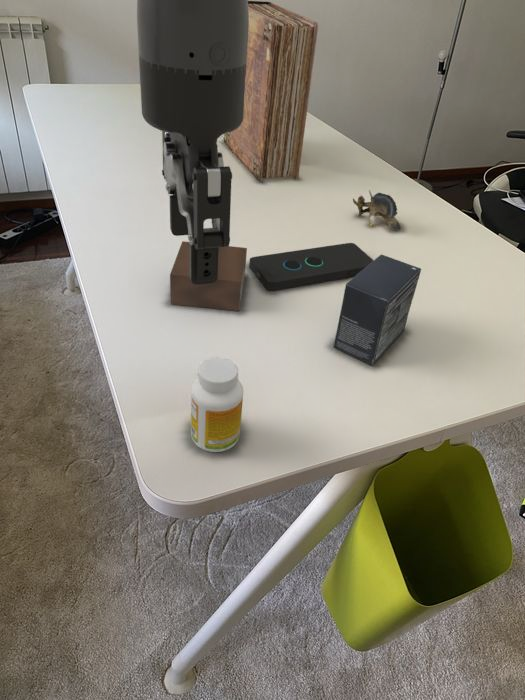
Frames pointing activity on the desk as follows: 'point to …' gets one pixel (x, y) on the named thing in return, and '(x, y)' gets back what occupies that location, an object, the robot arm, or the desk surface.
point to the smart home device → (309, 266)
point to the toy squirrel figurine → (379, 209)
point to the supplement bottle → (216, 405)
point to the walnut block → (211, 295)
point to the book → (275, 91)
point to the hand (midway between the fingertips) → (192, 256)
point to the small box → (375, 308)
